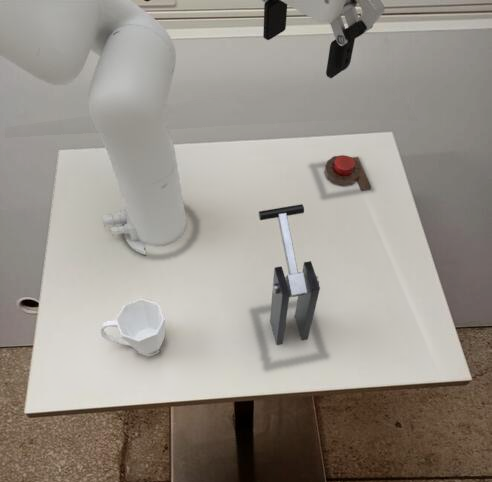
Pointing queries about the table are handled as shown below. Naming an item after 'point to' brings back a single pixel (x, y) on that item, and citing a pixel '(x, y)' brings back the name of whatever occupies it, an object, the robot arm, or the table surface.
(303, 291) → the lever
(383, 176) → the table surface
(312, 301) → the bracket
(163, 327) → the cup
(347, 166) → the button
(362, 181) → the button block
